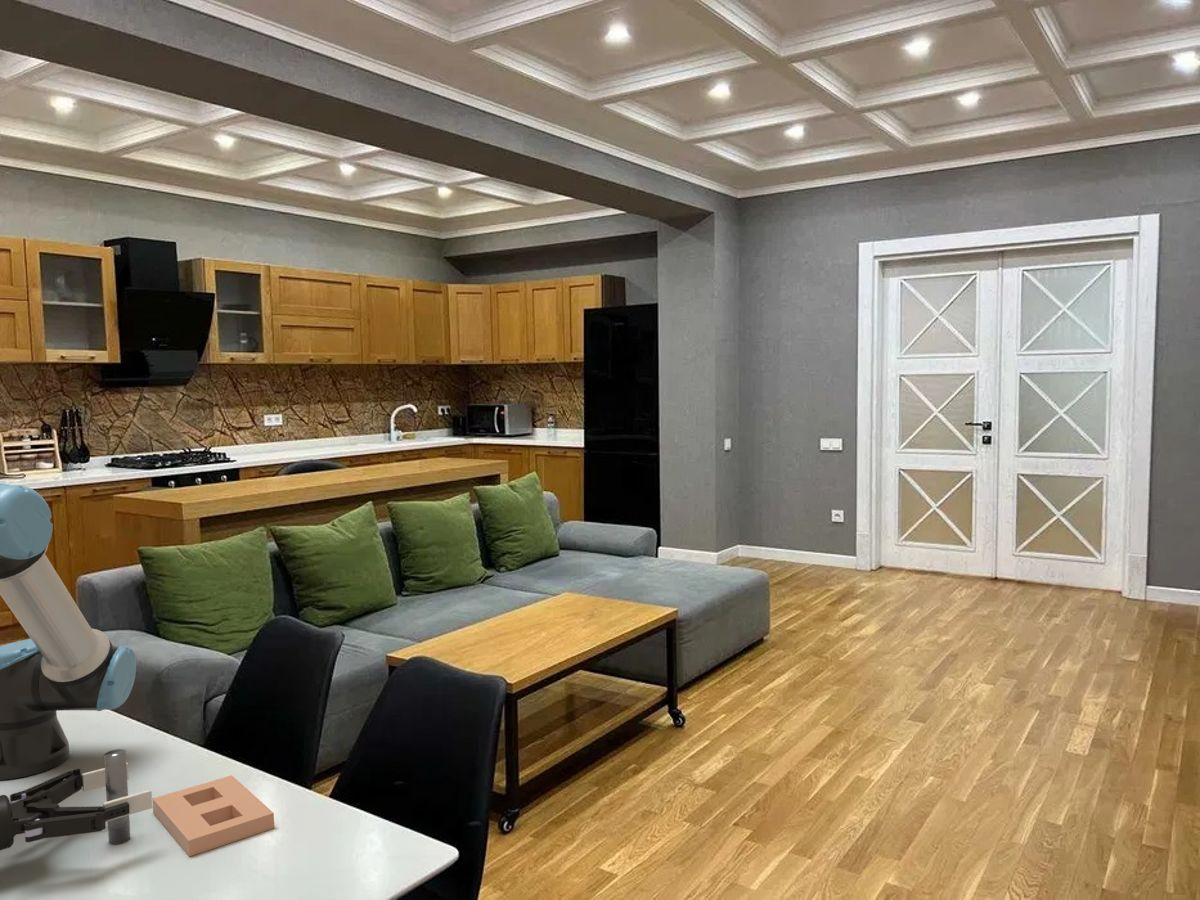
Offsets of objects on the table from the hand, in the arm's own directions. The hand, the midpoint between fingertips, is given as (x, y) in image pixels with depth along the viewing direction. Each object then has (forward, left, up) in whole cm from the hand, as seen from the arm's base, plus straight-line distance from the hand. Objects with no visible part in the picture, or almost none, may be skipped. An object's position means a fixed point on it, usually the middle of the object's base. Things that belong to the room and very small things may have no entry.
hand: (139, 784), depth 143 cm
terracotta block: (+3, +10, -8) cm, 13 cm away
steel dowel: (0, -3, -8) cm, 9 cm away
